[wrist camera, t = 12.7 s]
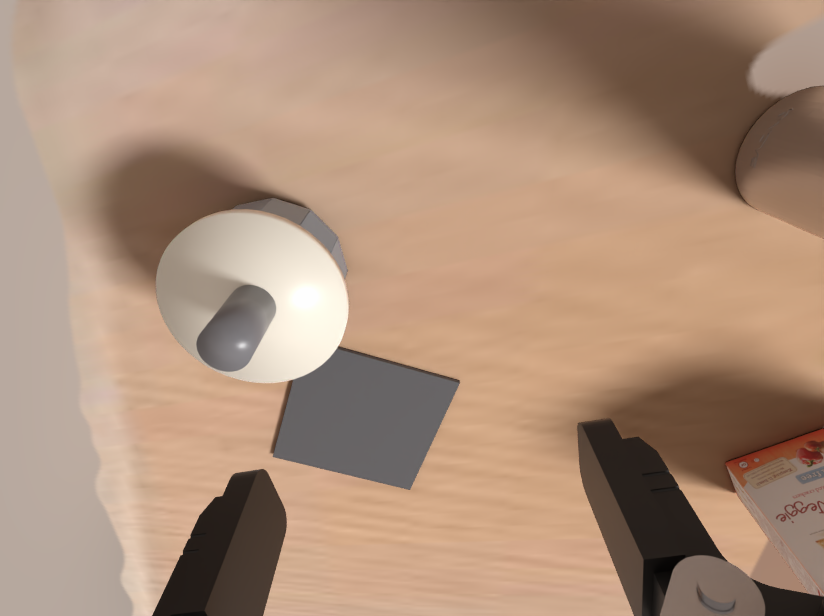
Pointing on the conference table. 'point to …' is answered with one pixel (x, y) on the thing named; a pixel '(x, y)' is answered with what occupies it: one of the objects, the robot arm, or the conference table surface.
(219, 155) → the conference table surface
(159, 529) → the conference table surface
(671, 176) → the conference table surface
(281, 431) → the mat
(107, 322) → the conference table surface
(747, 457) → the cracker box
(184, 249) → the lid
